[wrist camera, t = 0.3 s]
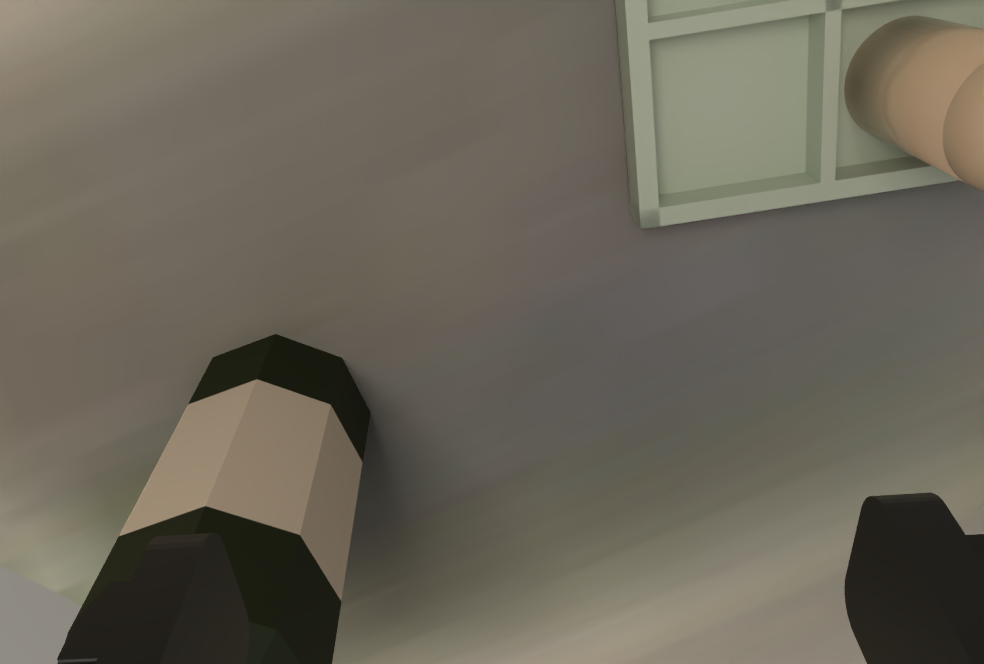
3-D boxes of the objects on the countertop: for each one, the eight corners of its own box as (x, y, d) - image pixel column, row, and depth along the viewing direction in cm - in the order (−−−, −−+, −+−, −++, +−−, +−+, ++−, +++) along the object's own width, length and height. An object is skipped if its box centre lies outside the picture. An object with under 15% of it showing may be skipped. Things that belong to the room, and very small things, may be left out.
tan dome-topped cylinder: (846, 25, 33) (997, 68, 24) (968, 6, 33) (1167, 42, 24) (841, 145, 35) (979, 226, 26) (956, 128, 35) (1134, 203, 26)
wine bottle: (406, 412, 41) (328, 1372, 14) (291, 511, 43) (35, 1500, 16) (272, 299, 38) (-154, 1242, 11) (156, 412, 40) (-429, 1420, 13)
